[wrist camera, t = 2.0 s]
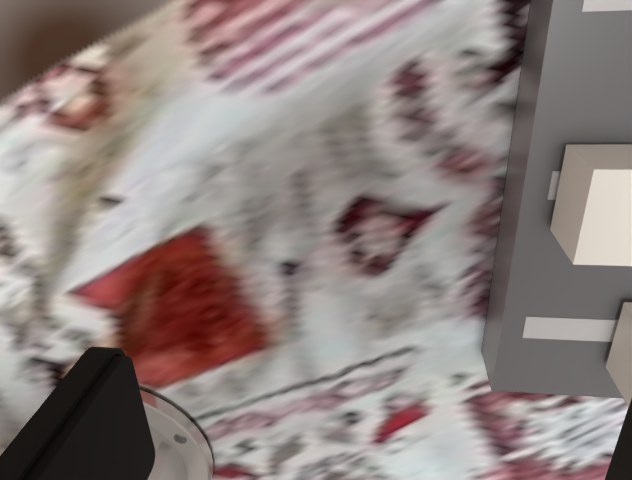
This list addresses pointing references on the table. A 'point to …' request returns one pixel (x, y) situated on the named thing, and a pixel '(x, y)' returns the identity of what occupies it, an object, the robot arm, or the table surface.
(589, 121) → the power strip
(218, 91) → the table surface
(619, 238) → the middle switch
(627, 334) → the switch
